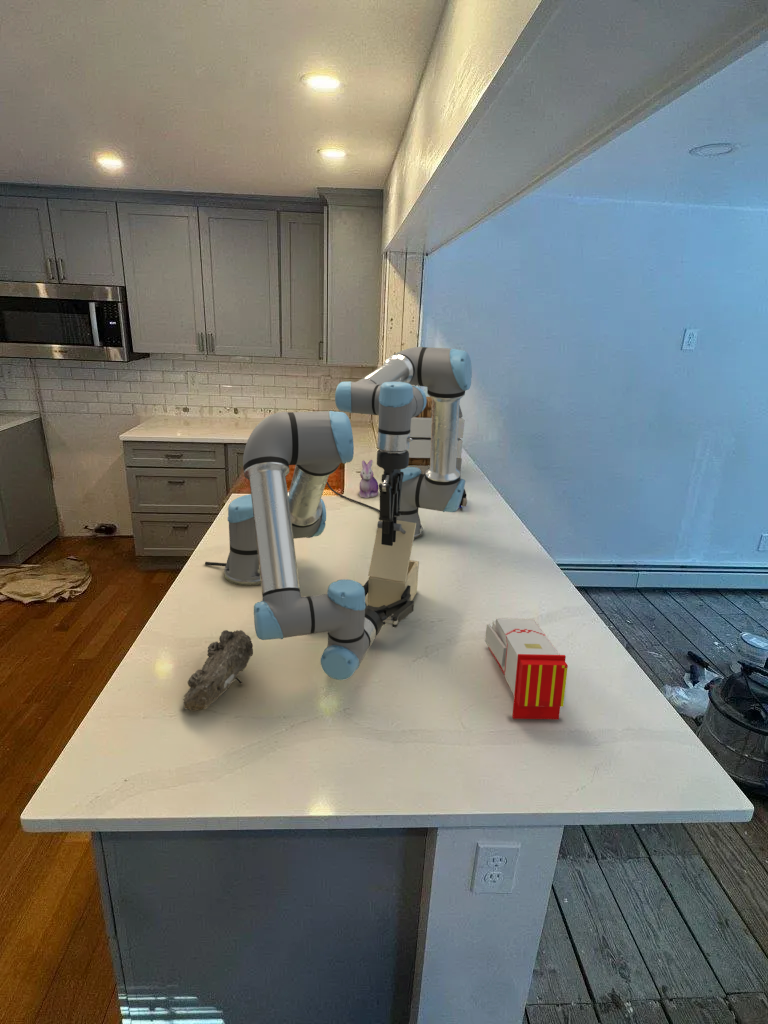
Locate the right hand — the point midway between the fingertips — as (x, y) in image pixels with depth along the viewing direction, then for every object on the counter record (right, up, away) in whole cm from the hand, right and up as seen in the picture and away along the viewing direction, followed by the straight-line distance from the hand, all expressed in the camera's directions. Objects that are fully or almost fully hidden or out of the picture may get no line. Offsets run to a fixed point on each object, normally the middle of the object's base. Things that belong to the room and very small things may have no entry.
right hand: (388, 542), depth 140 cm
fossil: (-35, -28, -22) cm, 50 cm away
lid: (+1, -2, +5) cm, 6 cm away
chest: (+1, -17, +13) cm, 21 cm away
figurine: (-8, +15, +99) cm, 100 cm away
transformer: (+16, +26, +135) cm, 138 cm away
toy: (+28, -29, -16) cm, 43 cm away
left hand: (0, -12, +7) cm, 14 cm away
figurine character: (+28, +10, +90) cm, 95 cm away
